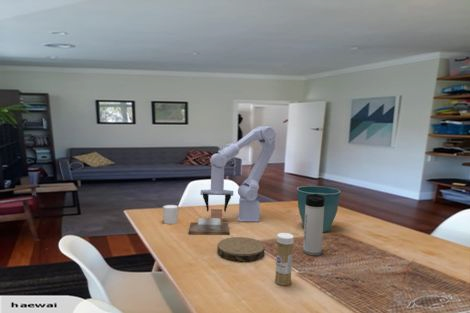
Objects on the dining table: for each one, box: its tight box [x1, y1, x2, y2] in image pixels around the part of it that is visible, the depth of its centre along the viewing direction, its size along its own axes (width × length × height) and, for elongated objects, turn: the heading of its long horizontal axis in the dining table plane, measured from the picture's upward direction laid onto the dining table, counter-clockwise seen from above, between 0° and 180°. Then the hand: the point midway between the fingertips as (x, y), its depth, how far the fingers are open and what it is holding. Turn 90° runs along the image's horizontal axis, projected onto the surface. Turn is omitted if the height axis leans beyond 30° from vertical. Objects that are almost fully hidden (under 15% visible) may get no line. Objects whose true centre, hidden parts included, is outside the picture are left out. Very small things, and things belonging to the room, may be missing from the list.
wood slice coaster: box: [216, 236, 265, 263], centre depth 110 cm, size 16×16×3 cm
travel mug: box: [302, 194, 325, 256], centre depth 112 cm, size 6×7×20 cm
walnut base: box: [188, 217, 230, 236], centre depth 133 cm, size 16×12×4 cm
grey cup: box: [162, 204, 179, 225], centre depth 142 cm, size 7×7×7 cm
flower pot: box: [296, 185, 341, 233], centre depth 140 cm, size 18×18×17 cm
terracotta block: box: [210, 208, 223, 223], centre depth 145 cm, size 5×5×5 cm
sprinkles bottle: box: [274, 232, 295, 286], centre depth 90 cm, size 5×5×14 cm
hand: (216, 211), depth 145 cm, fingers open, 7 cm apart
